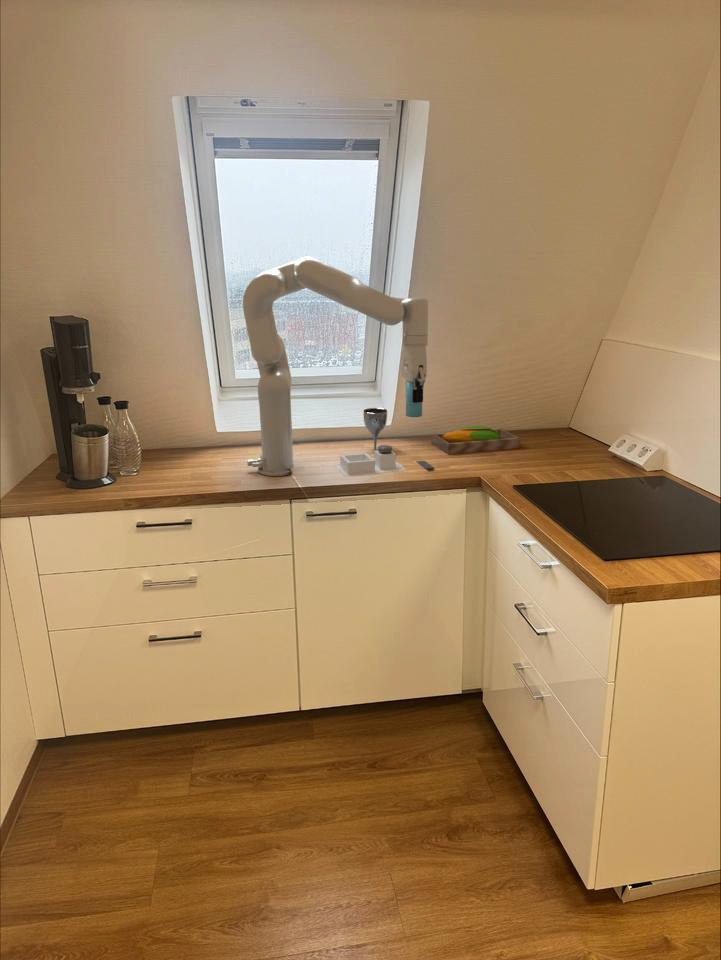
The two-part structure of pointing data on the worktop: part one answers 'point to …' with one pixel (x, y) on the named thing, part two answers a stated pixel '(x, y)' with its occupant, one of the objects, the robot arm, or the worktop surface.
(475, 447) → the brown rectangular tray
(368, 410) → the wine glass
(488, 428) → the corn
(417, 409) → the cylinder
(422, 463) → the mat
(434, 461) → the worktop surface
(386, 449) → the plunger
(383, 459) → the housing
